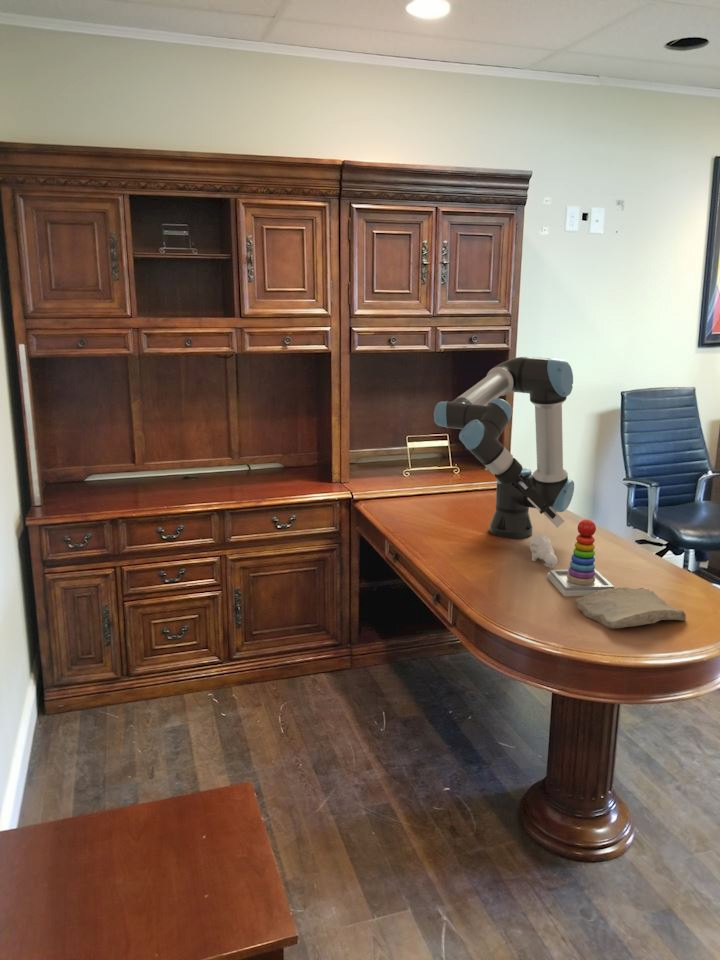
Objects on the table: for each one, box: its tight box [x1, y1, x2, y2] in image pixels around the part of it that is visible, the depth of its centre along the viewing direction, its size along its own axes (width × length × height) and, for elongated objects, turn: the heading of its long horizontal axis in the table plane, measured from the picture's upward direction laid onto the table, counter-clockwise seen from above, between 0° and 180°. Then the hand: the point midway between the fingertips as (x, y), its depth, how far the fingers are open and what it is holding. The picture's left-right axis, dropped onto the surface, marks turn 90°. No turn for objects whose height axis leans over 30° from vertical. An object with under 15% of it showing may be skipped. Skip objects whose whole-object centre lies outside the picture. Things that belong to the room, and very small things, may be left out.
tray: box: [547, 568, 615, 597], centre depth 216 cm, size 15×15×2 cm
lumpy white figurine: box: [529, 533, 558, 569], centre depth 234 cm, size 6×8×12 cm
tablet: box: [575, 586, 687, 630], centre depth 195 cm, size 24×8×20 cm
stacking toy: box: [567, 519, 597, 585], centre depth 214 cm, size 8×8×19 cm
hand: (552, 517), depth 211 cm, fingers open, 13 cm apart
